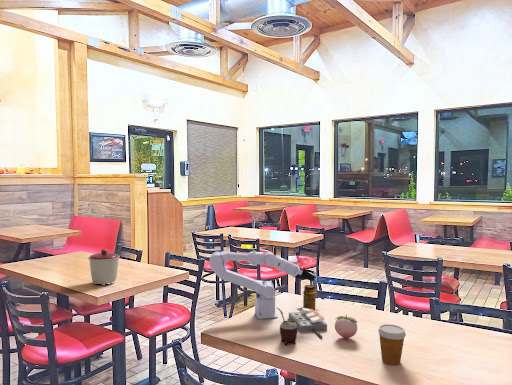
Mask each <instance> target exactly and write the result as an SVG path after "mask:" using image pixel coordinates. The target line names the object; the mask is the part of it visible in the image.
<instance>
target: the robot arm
mask: <svg viewBox="0 0 512 385" xmlns="http://www.w3.org/2000/svg"><path fill="white" fill-rule="evenodd" d="M230 261H241V262H243V261H244V262H247V263H248V264H251V265H266V266H267V267H269V268H270V267H272V268H275V270H278V271H280V272H283V273H284V274H286V275H288V276H291V277H292V278H296V279H299V280H308V281H310V282H314V281H315V278H316V276H315V275H313V274H312V273H310V271H308V270H307V269H306V268H305V267H301V266H300V263H299V262H297V263H293V262H291V261H289V260H288V259H285V258H283V257H279V256H278V255H275V254H274V253H273V252H271V251H263V252H259V251H256V250H252V251H250V252H248V253H244V252H243V253H241V252H235V251H234V252H233V251H223V250H222V251H218V250H217V251H214V252H212V253H211V254H210V258H209V259H208V263H209V267H210V269H211V270H212V271H213V272H214V273H215V275H216V276H217V277H218V278H219V279H221V280H223V281H225V282H228V283H232V284H235V285H237V286H241V287H243V288H246V289H249V290H251V291H253V292H255V293H257V294H259V295H260V296H259V297H256V298H255V300H254V315H255V316H256V318H257V319H258V320H262V319H263V320H264V319H274V318H278V315H277V314H276V295H275V294H276V291H275V288H274V286H275V285H274V283H273V282H271V281H269V280H265V281H264V280H257V279H256V278H255V279H254V278H252V277H249V276H246V275H244V274H242V273H241V274H240V273H239V272H235V271H233V270H229V269H228V268H227V266H226V265H225V264H226V263H229V262H230Z"/></svg>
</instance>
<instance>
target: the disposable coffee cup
mask: <svg viewBox="0 0 512 385" xmlns="http://www.w3.org/2000/svg"><path fill="white" fill-rule="evenodd" d="M377 331H378V334H379V343H380V354H381V361H382V362H383V363H385V364H386V363H387V364H386V365H390V366H398V365H397V364H399V365H400V364H401V361H402V354H403V347H404V341H405V337H406V335H407V334H406V331H405V329H404V328H403V327H401V326H400V325H396V324H390V323H389V324H388V323H387V324H381V325H379V328H378V329H377Z"/></svg>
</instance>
